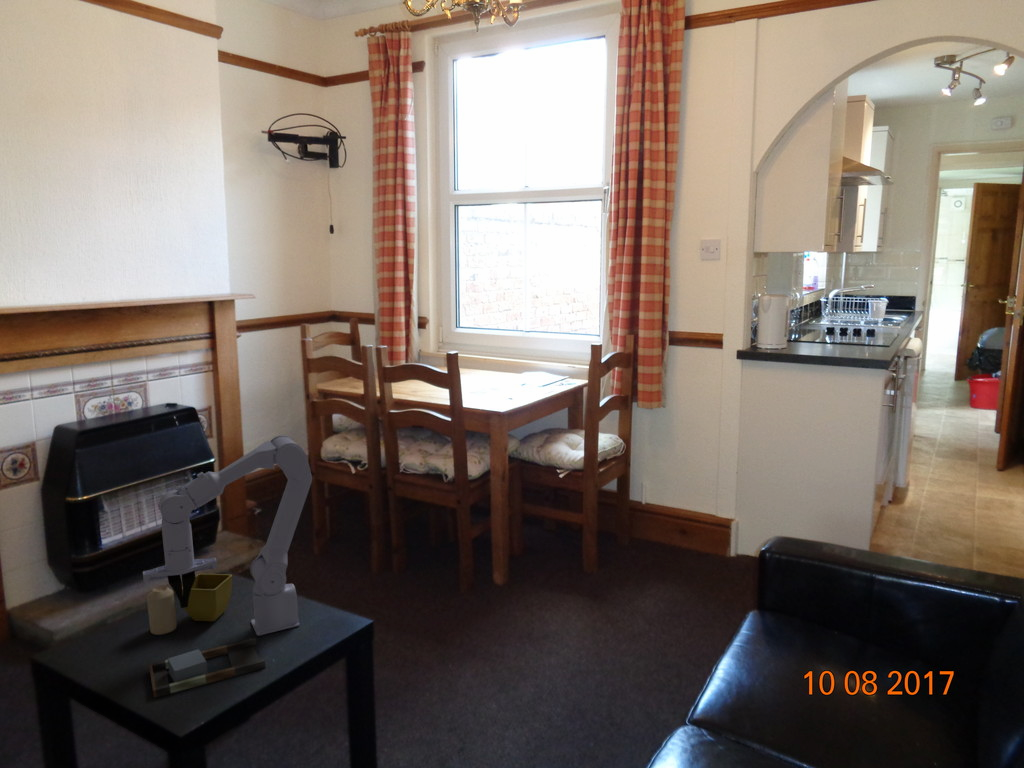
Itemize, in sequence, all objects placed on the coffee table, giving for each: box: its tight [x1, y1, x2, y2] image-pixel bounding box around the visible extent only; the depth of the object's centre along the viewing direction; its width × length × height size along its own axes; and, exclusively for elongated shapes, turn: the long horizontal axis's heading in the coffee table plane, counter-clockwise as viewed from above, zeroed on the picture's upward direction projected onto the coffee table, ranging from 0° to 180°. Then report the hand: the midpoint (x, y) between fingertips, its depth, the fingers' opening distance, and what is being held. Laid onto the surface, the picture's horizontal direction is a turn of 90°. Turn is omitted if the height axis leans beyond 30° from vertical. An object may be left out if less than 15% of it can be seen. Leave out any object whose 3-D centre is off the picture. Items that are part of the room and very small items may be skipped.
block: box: [167, 648, 208, 683], centre depth 151 cm, size 6×6×4 cm
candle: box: [146, 585, 178, 636], centre depth 169 cm, size 6×6×10 cm
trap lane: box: [148, 637, 266, 699], centre depth 153 cm, size 21×11×2 cm, turn 119°
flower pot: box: [182, 573, 233, 622], centre depth 175 cm, size 9×9×9 cm
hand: (184, 605), depth 161 cm, fingers closed
